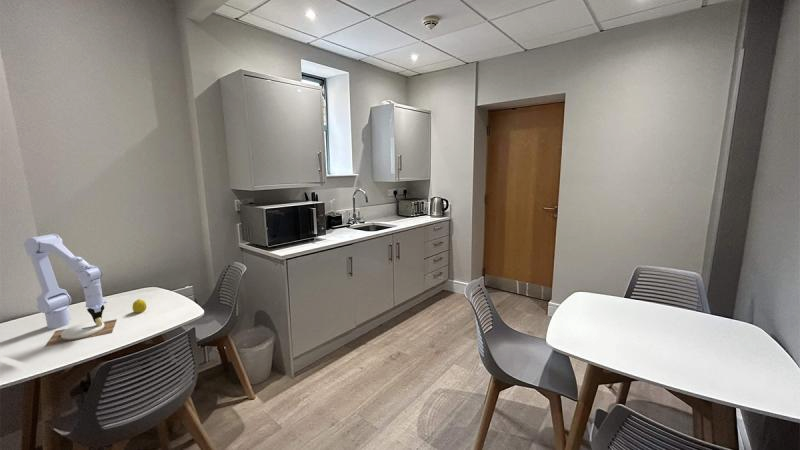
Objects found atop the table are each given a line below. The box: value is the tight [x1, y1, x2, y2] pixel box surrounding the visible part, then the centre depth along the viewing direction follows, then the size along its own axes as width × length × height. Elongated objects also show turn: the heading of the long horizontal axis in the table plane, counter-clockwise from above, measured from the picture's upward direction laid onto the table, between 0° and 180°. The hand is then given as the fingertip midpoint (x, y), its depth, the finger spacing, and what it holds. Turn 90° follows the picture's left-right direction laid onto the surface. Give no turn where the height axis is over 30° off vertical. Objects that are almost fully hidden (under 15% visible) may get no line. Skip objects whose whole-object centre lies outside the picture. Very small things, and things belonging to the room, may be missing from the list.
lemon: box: [132, 298, 147, 314], centre depth 166 cm, size 6×6×8 cm
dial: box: [61, 317, 105, 340], centre depth 145 cm, size 14×14×5 cm
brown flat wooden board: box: [44, 318, 118, 348], centre depth 146 cm, size 16×21×2 cm
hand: (98, 322), depth 149 cm, fingers closed
